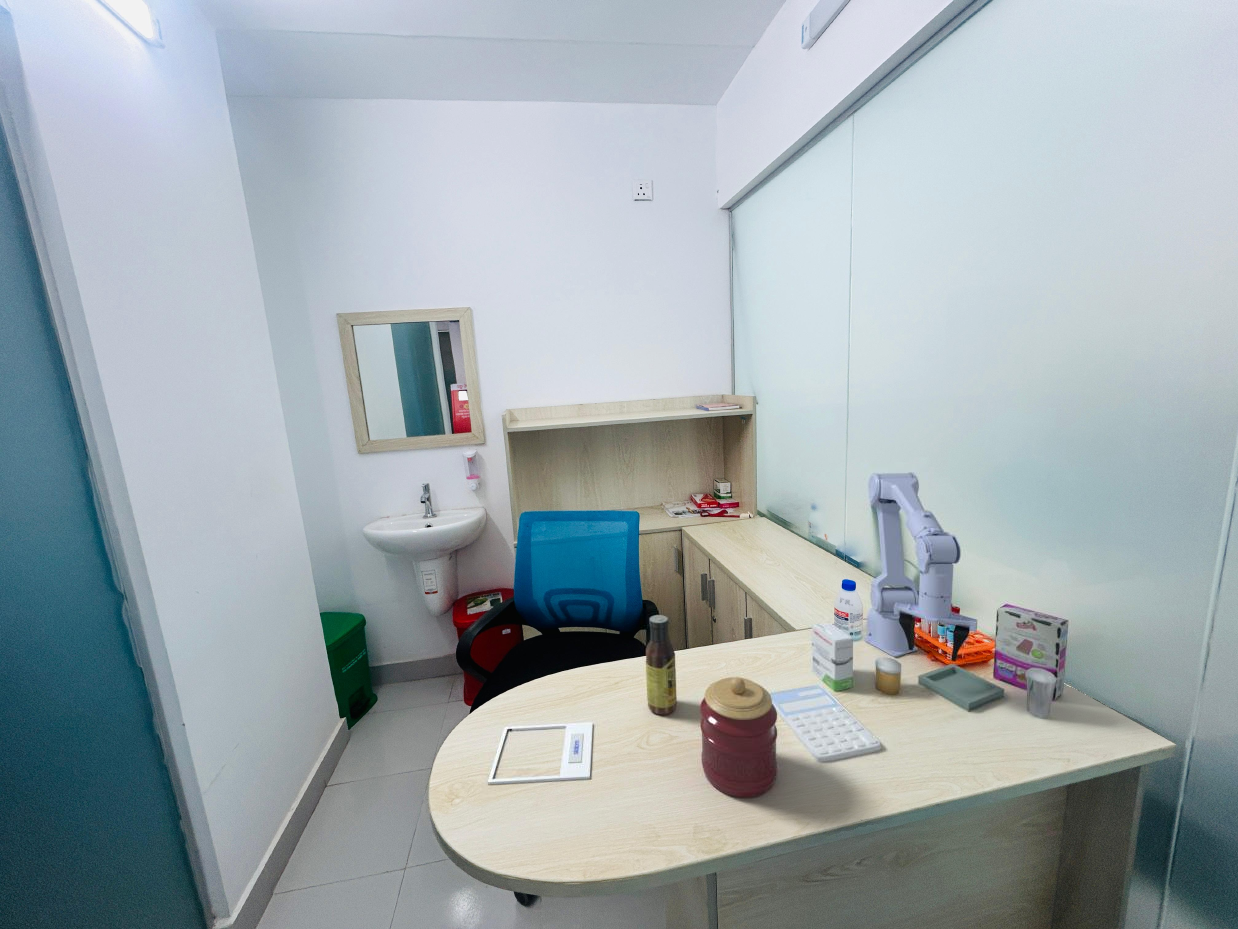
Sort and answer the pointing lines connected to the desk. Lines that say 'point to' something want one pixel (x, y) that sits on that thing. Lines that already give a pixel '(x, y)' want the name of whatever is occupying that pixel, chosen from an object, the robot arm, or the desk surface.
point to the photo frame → (573, 757)
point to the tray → (961, 687)
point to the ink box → (832, 656)
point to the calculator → (823, 724)
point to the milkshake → (1040, 691)
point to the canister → (739, 737)
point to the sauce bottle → (660, 668)
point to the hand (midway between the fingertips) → (932, 653)
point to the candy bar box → (1029, 646)
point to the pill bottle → (888, 676)
